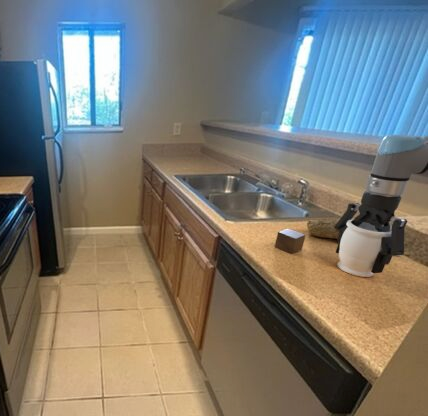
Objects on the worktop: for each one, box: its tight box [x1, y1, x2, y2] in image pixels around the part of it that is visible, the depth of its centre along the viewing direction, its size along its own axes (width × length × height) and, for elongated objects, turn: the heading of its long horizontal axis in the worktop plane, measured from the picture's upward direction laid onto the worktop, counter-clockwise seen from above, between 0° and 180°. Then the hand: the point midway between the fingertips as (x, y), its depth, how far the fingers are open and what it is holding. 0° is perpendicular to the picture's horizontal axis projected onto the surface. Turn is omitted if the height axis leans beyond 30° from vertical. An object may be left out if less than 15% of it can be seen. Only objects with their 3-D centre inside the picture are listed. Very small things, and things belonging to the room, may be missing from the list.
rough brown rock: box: [306, 218, 340, 240], centre depth 104 cm, size 13×8×20 cm
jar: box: [336, 218, 392, 278], centre depth 82 cm, size 11×10×15 cm
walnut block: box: [274, 228, 307, 255], centre depth 96 cm, size 6×6×6 cm
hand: (357, 261), depth 84 cm, fingers closed on jar, 10 cm apart
